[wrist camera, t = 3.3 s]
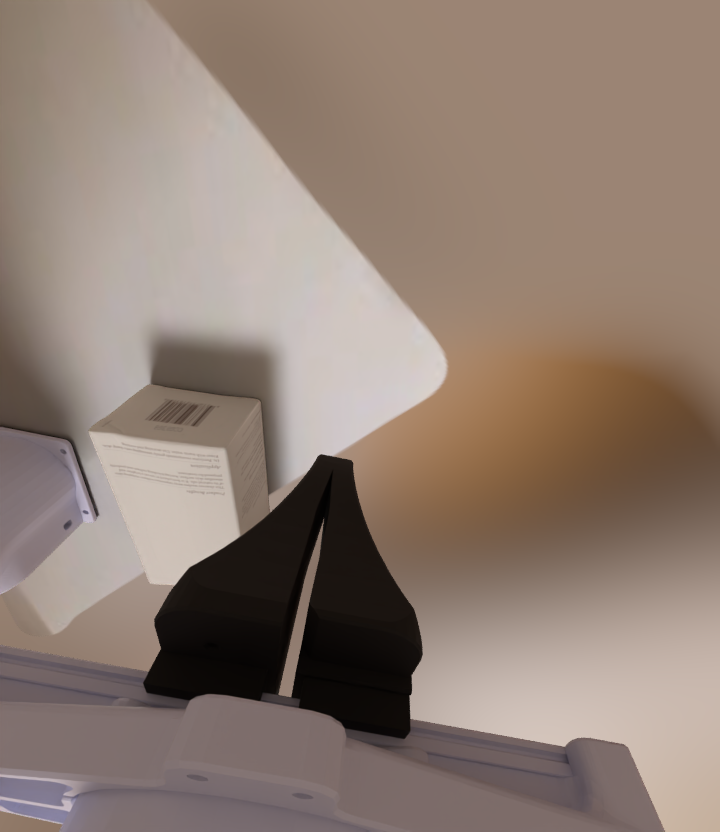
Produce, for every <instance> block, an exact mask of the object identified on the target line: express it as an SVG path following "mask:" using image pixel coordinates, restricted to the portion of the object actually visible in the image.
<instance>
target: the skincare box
mask: <svg viewBox="0 0 720 832" xmlns="http://www.w3.org/2000/svg"><path fill="white" fill-rule="evenodd" d="M88 433H89V435H90V438H91V440H92V442H93V445H94V447H95V450H96V452H97V455H98V457H99V460H100V462H101V465H102V467H103V469H104V472H105V474H106V477H107V479H108V481H109V484H110V486H111V489H112V491H113V494H114V496H115V499H116V501H117V503H118V506H119V508H120V511H121V513H122V516H123V518H124V520H125V523H126V526H127V528H128V531H129V533H130V536H131V538H132V540H133V543H134V545H135V548H136V550H137V553H138V555H139V558H140V560H141V563H142V565H143V568H144V570H145V573H146V575H147V578H148V581H149V583H151V584H165V585H176V583H177V582H178V581H179V579H180V578H181V577H182V576H183V574H184V573H185V572H186V571H187V570H188V568H189V567H191V566H193V565H194V564H196V563H198V562H200V561H202V560H203V559H205V558H207V557H209V556H210V555H212V554H214V553H216V552H217V551H219V550H220V549H222V548H224V547H225V546H227V545H228V544H230V543H231V542H233V541H234V540H236V539H237V538H239V537H240V536H242V535H243V534H244V533H246V532H247V531H248V530H250V529H251V528H252V527H254V526H255V525H256V524H257V523H259V522H260V521H261V520H262V519H264V518H265V517H266V516H267V515H268V514H269V513H270V509H269V500H268V486H267V473H266V460H265V448H264V436H263V423H262V410H261V401H259V400H258V399H255V398H246V397H234V396H223V395H215V394H209V393H202V392H195V391H188V390H182V389H175V388H168V387H163V386H159V385H150V384H149V385H147V386H145V387H144V388H143V389H141V390H140V391H139V392H137V393H136V394H135V395H133V396H132V397H131V398H129V399H128V400H127V401H126V402H125V403H123V404H122V405H121V406H120V407H118V408H117V409H116V410H115V411H113V412H112V413H111V414H109V415H108V416H107V417H105V418H103V419H102V420H100V421H99V422H97V423H96V424H95V425H93V426H92V427H91V428H90V429H89V431H88Z"/></svg>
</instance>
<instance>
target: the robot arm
mask: <svg viewBox="0 0 720 832" xmlns="http://www.w3.org/2000/svg"><path fill="white" fill-rule="evenodd" d="M96 519H97V517H96V514H95V511H94V508H93V505H92V503H91V500H90V497H89V494H88V491H87V488H86V485H85V483H84V480H83V477H82V474H81V471H80V468H79V465H78V462H77V460H76V457H75V454H74V451H73V448H72V445H71V443H70V442H69V441H67V440H65V439H61V438H56V437H50V436H45V435H40V434H35V433H30V432H25V431H20V430H15V429H9V428H4V427H0V594H2V593H4V592H6V591H8V590H10V589H12V588H13V587H15V586H16V585H18V584H19V583H21V582H22V581H23V580H25V579H26V578H27V577H28V576H29V575H30V574H31V573H32V572H33V571H34V570H35V569H36V568H37V567H38V566H39V565H40V564H41V563H42V562H43V561H44V560H45V559H46V558H47V557H48V556H49V555H50V554H51V553H52V552H53V551H54V550H55V549H56V548H57V547H58V546H59V545H60V544H61V543H62V542H63V541H64V540H65V539H66V538H67V537H68V536H69V535H70V534H71V533H72V532H74V531H75V530H76V529H77V528H78V527H79V526H80V525H81V524H82V523H83V522H87V523H94V522H95V521H96ZM323 519H324V524H323V532H322V541H321V550H320V558H319V562H318V566H317V571H316V575H315V580H314V584H313V589H312V593H311V597H310V602H309V607H308V612H307V618H306V624H305V629H304V635H303V640H302V645H301V650H300V654H299V659H298V664H297V669H296V674H295V680H294V686H293V691H292V697H286V696H280V695H278V693H279V689H280V685H281V680H282V675H283V671H284V667H285V662H286V658H287V653H288V649H289V645H290V640H291V635H292V631H293V627H294V623H295V618H296V614H297V609H298V605H299V601H300V597H301V592H302V588H303V584H304V579H305V576H306V572H307V569H308V565H309V562H310V559H311V556H312V553H313V550H314V547H315V544H316V541H317V538H318V535H319V532H320V529H321V526H322V523H323ZM154 620H155V621H154V622H155V629H156V632H157V636H158V639H159V643H160V646H161V650H160V652H159V654H158V656H157V657H156V659H155V661H154V663H153V665H152V667H151V669H150V671H149V672H147V671H141V670H136V669H130V668H125V667H120V666H114V665H108V664H103V663H97V662H92V661H86V660H81V659H75V658H70V657H64V656H59V655H53V654H48V653H42V652H36V651H31V650H26V649H20V648H14V647H9V646H3V645H0V811H4V812H8V813H13V814H17V815H22V816H27V817H31V818H36V819H40V820H45V821H50V822H54V823H59V824H63V825H62V827H61V828H60V831H59V832H665V830H664V828H663V826H662V824H661V821H660V819H659V817H658V815H657V812H656V810H655V808H654V805H653V803H652V801H651V799H650V797H649V794H648V792H647V790H646V787H645V785H644V783H643V781H642V778H641V776H640V774H639V772H638V769H637V767H636V765H635V762H634V760H633V758H632V756H631V753H630V751H629V749H628V747H626V746H625V745H624V744H619V743H614V742H608V741H603V740H597V739H591V738H577V739H574V740H572V741H570V742H569V743H568V744H567V745H566V746H565V747H562V746H557V745H551V744H546V743H540V742H535V741H529V740H524V739H518V738H513V737H507V736H502V735H496V734H491V733H485V732H479V731H474V730H468V729H463V728H457V727H451V726H446V725H440V724H435V723H430V722H424V721H418V720H413V719H410V701H409V700H410V698H409V695H411V693H412V677H411V675H412V674H413V672H414V671H415V669H416V667H417V666H418V664H419V662H420V661H421V658H422V655H423V653H422V641H421V635H420V630H419V626H418V621H417V618H416V614H415V611H414V609H413V607H412V606H411V604H410V603H409V602H408V600H407V599H406V597H405V596H404V594H403V593H402V592H401V590H400V588H399V587H398V585H397V584H396V582H395V581H394V579H393V577H392V576H391V574H390V572H389V570H388V569H387V567H386V565H385V563H384V561H383V559H382V557H381V556H380V554H379V552H378V550H377V548H376V545H375V543H374V541H373V539H372V537H371V534H370V532H369V529H368V527H367V524H366V522H365V519H364V516H363V513H362V510H361V506H360V503H359V499H358V495H357V491H356V486H355V480H354V473H353V462H352V461H351V460H347V459H342V458H337V457H332V456H327V455H322V454H321V455H319V456H318V457H317V459H316V461H315V462H314V464H313V466H312V467H311V468H310V470H309V471H308V473H307V474H306V475H305V476H304V478H303V479H302V480H301V481H300V482H299V484H298V485H297V486H296V487H295V488H294V490H293V491H292V492H291V493H290V494H289V495H288V496H287V497H286V498H285V499H284V500H283V501H282V502H281V503H280V504H279V505H278V506H277V507H276V508H275V509H274V510H273V511H272V512H271V513H269V514H268V515H267V516H266V517H265V518H264V519H262V520H261V521H260V522H259V523H257V524H256V525H255V526H254V527H252V528H251V529H250V530H248V531H247V532H246V533H244V534H243V535H242V536H240V537H239V538H237V539H236V540H234V541H233V542H231V543H230V544H228V545H227V546H225V547H224V548H222V549H220V550H219V551H217V552H216V553H214V554H212V555H210V556H209V557H207V558H205V559H203V560H202V561H200V562H198V563H196V564H194V565H193V566H191V567H189V568H188V570H187V571H186V572H185V573H184V574H183V576H182V577H181V578H180V579H179V581H178V582H177V583H176V585H175V586H174V587H173V589H172V590H171V592H170V593H169V595H168V596H167V598H166V600H165V602H164V603H163V605H162V607H161V608H160V610H159V612H158V614H157V615H156V617H155V619H154Z"/></svg>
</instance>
